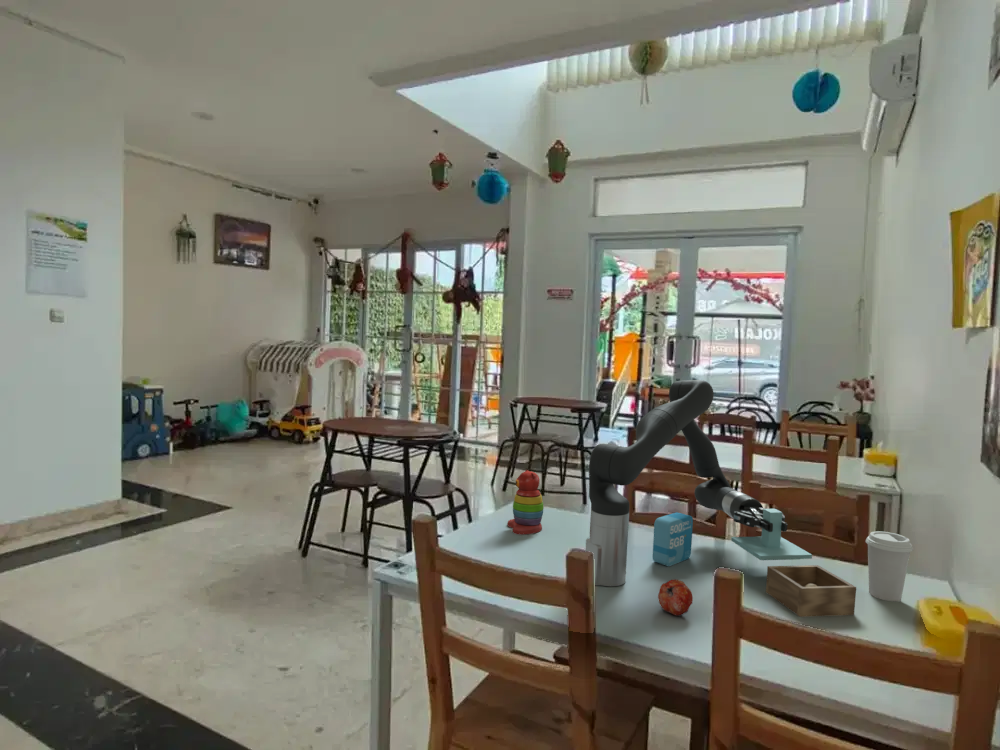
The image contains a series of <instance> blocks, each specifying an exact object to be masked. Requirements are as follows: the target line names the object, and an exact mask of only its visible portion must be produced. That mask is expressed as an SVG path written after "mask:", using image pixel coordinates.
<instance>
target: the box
mask: <svg viewBox="0 0 1000 750" xmlns="http://www.w3.org/2000/svg"><path fill="white" fill-rule="evenodd" d="M766 569H767V570H766V585H765V593H766V594H768V595H769V596H770V597H771V598H774V599H775V600H776V601H777V602H779V603H780V604H781V605H782V606H785V607H786V608H787V609H788V610H790V611H791V612H792V613H794V614H795V615H796V616H798V617H800V618H805V617H809V618H810V617H831V616H832V617H833V616H855V607H856V597H857V596H856V595H857V586H855V585H854V584H851V583H849V582H848V581H846V580H844V579H843V578H841V577H839V576H838V575H836V574H834V573H832V572H831V571H829V570H827V569H825V568H823V567H822V566H820V565H817V564H815V565H814V564H812V565H806V564H805V565H770V566H769V565H768V566H767V568H766ZM807 584H815V585H817V586H815V587H805V586H806V585H807Z"/></svg>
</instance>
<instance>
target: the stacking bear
mask: <svg viewBox="0 0 1000 750" xmlns="http://www.w3.org/2000/svg"><path fill="white" fill-rule="evenodd" d="M515 485H516V487H517V488H518V490H516V493H515V495H514V499H513V503H512V513H513V518H511V519H509V520H508V521H507V523H506V525H507V527H509V528H512V533H513V534H515V535H521V536H522V535H531V534H536V533H539V532H541V531H542V530H543V525H542V518H543V516H544V509H545V508H544V501H543V496H542V494H541V492H540V490H539V489H538V488H539V487H540V477H539V474H538V473H536V472H534V471H530V470H528V469H525V471H523V472H522V473H520V475H518V477H516V479H515Z"/></svg>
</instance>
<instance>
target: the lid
mask: <svg viewBox="0 0 1000 750" xmlns="http://www.w3.org/2000/svg"><path fill="white" fill-rule="evenodd" d="M782 513H783V512H782V511H780V510H779V509H776V508H764V509H763V519H765V520H767V521H769V522H771V523H772V524H773V531H772V532H768V531H766V530H765V529H763V528H761V536H731V539H730V541H731V542H733V544H736V545H737V546H738V547H740V548H741V549H743V550H745V551H746V552H747V553H749V554H751V555H752V556H753V557H755V558H757V559H758V560H759V561H785V560H791V561H793V560H809V559H810V560H811V559H813V554H812V553H810V552H808V551H806V550H805V549H804V548H801V547H800V546H798V545H796V544H795V543H793V542H790V541H789V540H787V539H785V538H784V537H782V531H781V523H782Z"/></svg>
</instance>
